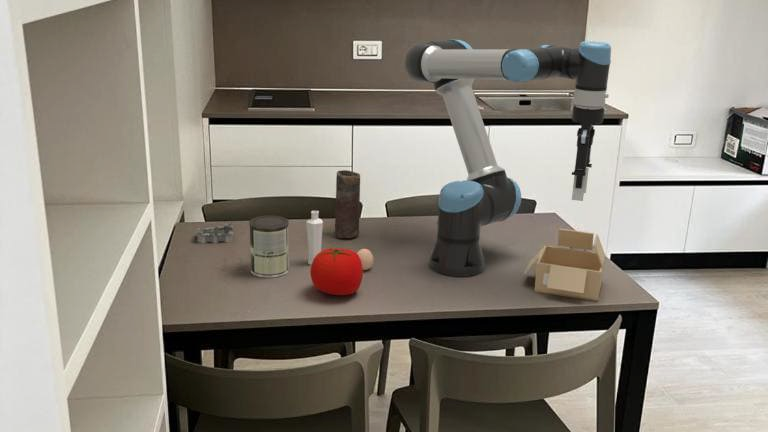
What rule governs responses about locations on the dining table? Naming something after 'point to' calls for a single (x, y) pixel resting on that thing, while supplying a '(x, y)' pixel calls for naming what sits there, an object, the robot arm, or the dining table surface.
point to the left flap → (533, 261)
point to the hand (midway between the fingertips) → (578, 195)
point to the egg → (365, 258)
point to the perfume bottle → (314, 235)
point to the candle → (347, 204)
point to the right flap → (599, 249)
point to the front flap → (567, 278)
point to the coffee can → (269, 246)
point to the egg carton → (216, 234)
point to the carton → (573, 260)
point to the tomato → (337, 271)
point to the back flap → (575, 239)
